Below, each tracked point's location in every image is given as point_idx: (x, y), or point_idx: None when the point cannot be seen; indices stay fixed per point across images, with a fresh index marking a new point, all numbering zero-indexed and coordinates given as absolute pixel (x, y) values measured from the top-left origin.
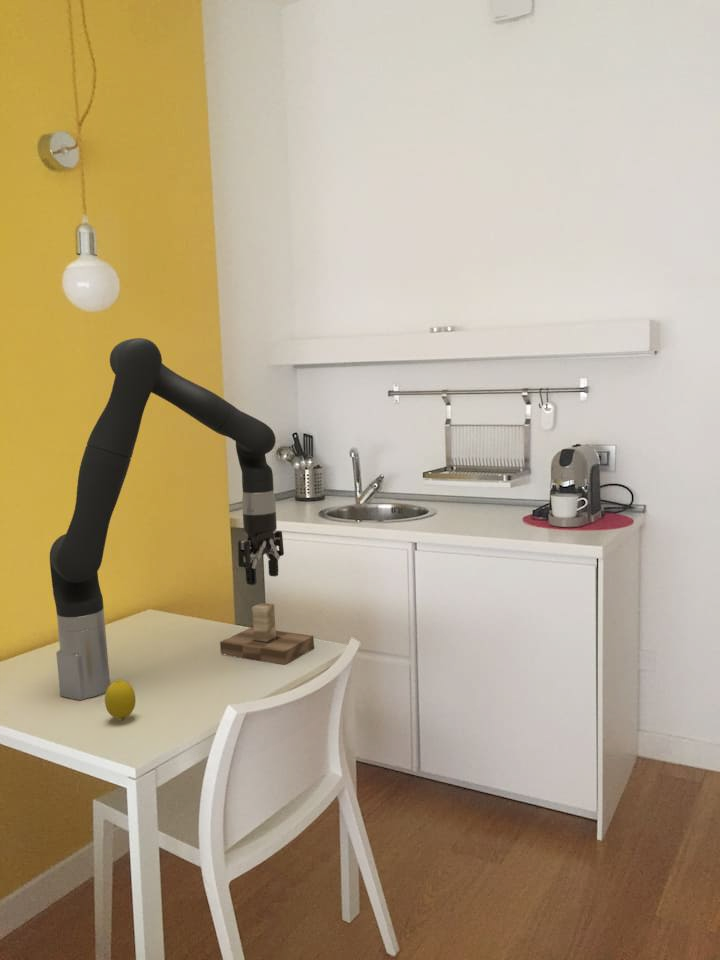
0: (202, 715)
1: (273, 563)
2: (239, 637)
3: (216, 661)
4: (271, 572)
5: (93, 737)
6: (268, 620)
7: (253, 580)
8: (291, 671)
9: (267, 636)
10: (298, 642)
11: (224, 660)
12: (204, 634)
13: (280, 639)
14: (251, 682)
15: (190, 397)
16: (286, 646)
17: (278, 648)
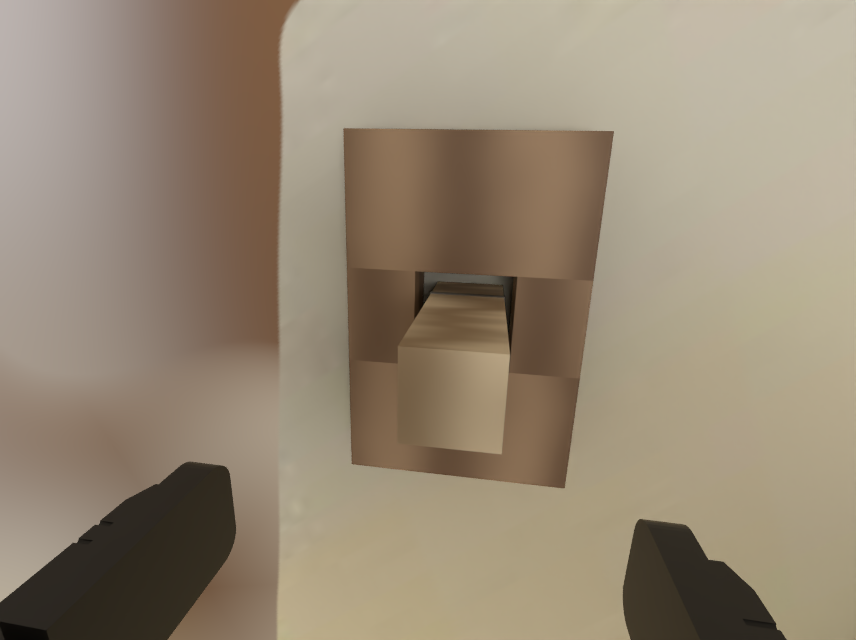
0: None
1: (100, 628)
2: None
3: (631, 434)
4: (208, 546)
5: None
6: (479, 324)
7: (701, 574)
8: (670, 55)
9: (498, 303)
10: (458, 143)
11: (612, 412)
12: (386, 604)
13: (449, 257)
14: (852, 156)
15: None
16: (534, 167)
17: (573, 190)
